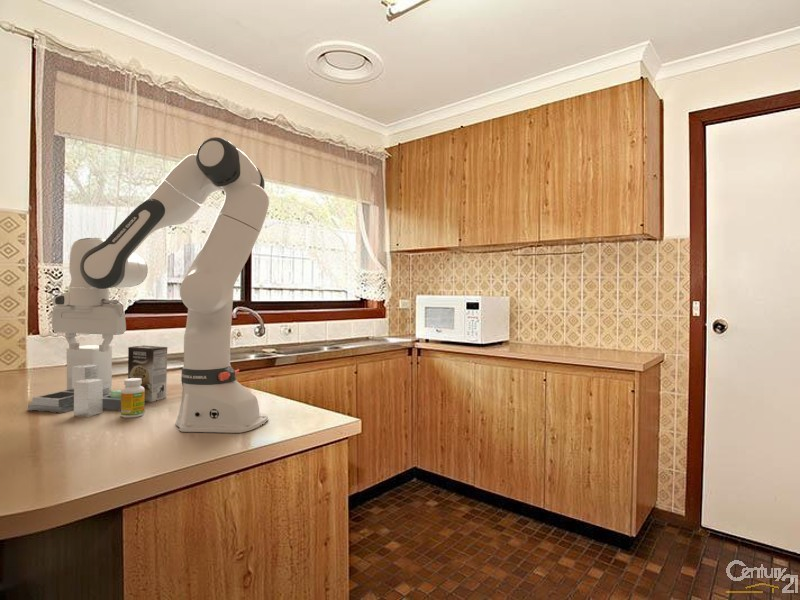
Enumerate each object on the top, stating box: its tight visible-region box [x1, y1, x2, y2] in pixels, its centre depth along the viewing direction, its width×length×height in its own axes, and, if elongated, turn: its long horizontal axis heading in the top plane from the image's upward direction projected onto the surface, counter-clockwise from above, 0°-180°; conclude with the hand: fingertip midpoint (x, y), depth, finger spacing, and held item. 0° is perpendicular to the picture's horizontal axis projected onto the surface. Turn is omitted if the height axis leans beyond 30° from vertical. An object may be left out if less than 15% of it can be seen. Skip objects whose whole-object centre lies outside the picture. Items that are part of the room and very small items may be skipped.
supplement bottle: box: [120, 378, 145, 419], centre depth 122 cm, size 5×5×10 cm
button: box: [109, 389, 122, 398], centre depth 131 cm, size 4×4×3 cm
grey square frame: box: [103, 393, 121, 412], centre depth 131 cm, size 8×8×3 cm
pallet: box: [27, 364, 110, 414], centre depth 132 cm, size 11×17×10 cm, turn 169°
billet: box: [73, 379, 104, 418], centre depth 122 cm, size 4×4×9 cm
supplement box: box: [66, 344, 113, 392], centre depth 147 cm, size 9×9×15 cm
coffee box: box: [127, 345, 168, 403], centre depth 141 cm, size 9×6×16 cm
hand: (88, 350), depth 122 cm, fingers open, 8 cm apart
